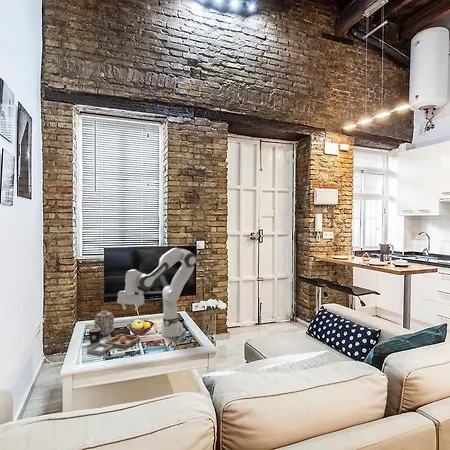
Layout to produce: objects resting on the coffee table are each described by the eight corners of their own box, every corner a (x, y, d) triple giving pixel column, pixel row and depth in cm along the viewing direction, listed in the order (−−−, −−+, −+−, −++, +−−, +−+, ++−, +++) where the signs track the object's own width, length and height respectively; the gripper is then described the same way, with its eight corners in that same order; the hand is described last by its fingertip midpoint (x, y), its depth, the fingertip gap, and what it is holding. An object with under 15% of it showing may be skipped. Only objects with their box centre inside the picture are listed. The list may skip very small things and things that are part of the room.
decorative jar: (107, 335, 264) (107, 313, 263) (93, 334, 266) (93, 312, 265) (114, 330, 276) (114, 309, 275) (101, 329, 277) (101, 308, 277)
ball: (122, 341, 249) (122, 334, 249) (127, 342, 247) (127, 335, 247) (118, 343, 244) (118, 336, 244) (123, 344, 242) (123, 337, 242)
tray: (99, 346, 241) (99, 342, 241) (113, 348, 237) (113, 345, 237) (87, 352, 229) (87, 348, 229) (101, 355, 225) (101, 351, 225)
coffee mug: (103, 341, 251) (103, 328, 251) (96, 345, 242) (96, 332, 242) (90, 339, 254) (90, 327, 254) (83, 343, 246) (82, 330, 245)
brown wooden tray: (121, 338, 257) (121, 333, 257) (140, 341, 251) (140, 337, 250) (105, 346, 240) (105, 341, 240) (124, 350, 234) (124, 345, 234)
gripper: (115, 291, 240) (115, 310, 240) (142, 293, 237) (141, 312, 237) (119, 289, 246) (119, 307, 246) (145, 291, 243) (144, 309, 243)
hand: (130, 310), depth 242 cm, fingers open, 8 cm apart
